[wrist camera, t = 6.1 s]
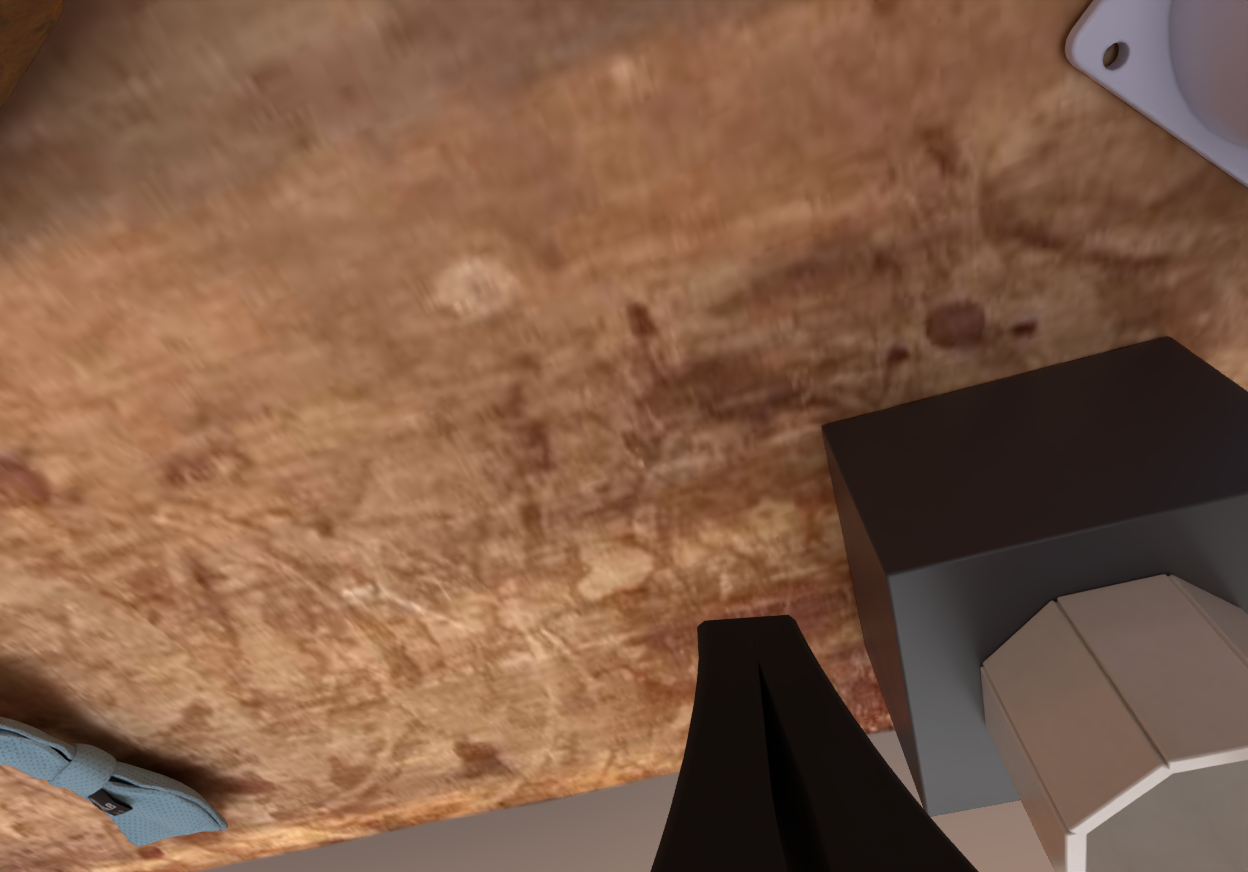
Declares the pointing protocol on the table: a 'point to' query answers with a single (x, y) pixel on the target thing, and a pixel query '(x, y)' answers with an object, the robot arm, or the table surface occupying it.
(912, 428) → the black cube block
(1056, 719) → the bowl
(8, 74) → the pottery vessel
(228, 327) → the table surface
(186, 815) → the bow tie
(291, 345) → the table surface
